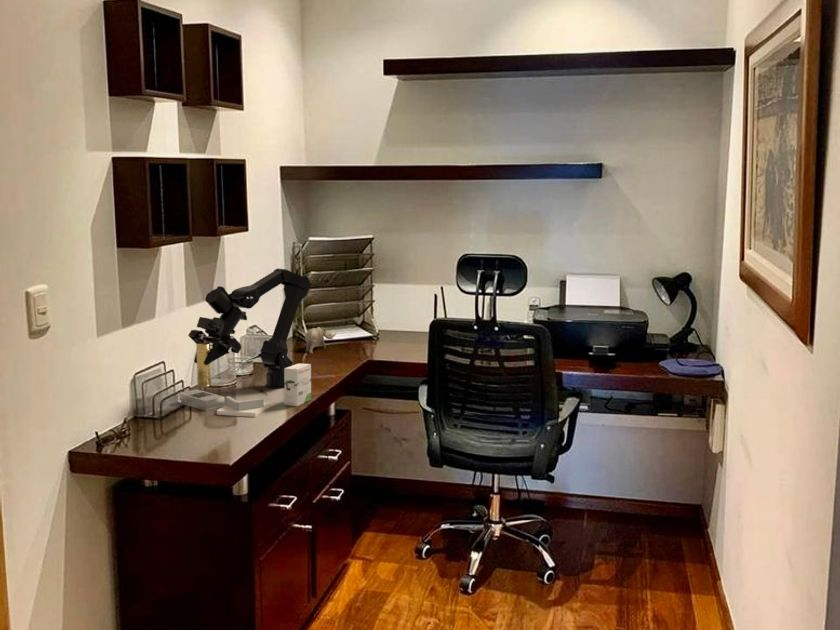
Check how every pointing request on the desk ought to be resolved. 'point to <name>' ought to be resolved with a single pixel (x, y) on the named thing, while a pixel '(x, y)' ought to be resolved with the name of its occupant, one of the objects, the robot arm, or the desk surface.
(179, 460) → the desk surface
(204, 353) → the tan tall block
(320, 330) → the elephant figurine
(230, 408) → the v block
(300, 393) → the ink box
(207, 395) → the grey socket block
